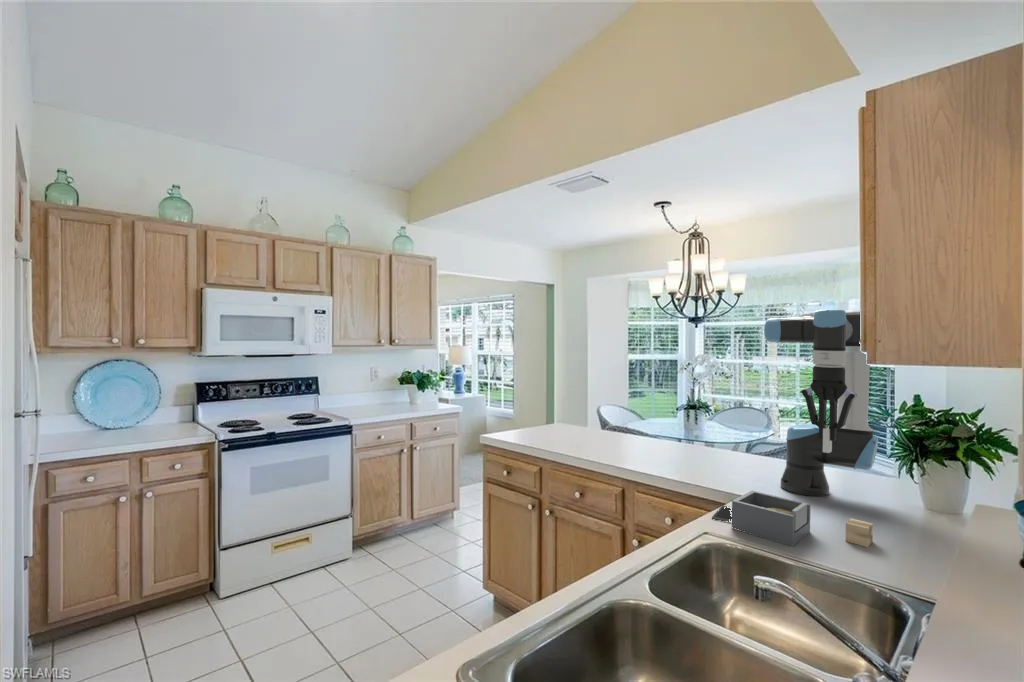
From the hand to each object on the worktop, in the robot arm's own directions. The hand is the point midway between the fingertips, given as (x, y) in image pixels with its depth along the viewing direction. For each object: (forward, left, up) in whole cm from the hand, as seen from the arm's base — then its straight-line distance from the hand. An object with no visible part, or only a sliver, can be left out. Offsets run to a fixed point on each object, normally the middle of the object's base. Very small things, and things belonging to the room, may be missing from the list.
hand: (827, 451), depth 136 cm
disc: (+6, -10, -20) cm, 23 cm away
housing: (+6, -12, -24) cm, 27 cm away
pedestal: (-4, +7, -24) cm, 25 cm away
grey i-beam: (+6, -11, -21) cm, 24 cm away
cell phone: (+3, -25, -25) cm, 35 cm away
